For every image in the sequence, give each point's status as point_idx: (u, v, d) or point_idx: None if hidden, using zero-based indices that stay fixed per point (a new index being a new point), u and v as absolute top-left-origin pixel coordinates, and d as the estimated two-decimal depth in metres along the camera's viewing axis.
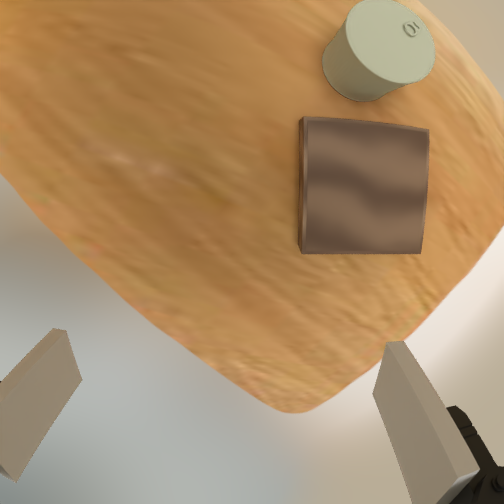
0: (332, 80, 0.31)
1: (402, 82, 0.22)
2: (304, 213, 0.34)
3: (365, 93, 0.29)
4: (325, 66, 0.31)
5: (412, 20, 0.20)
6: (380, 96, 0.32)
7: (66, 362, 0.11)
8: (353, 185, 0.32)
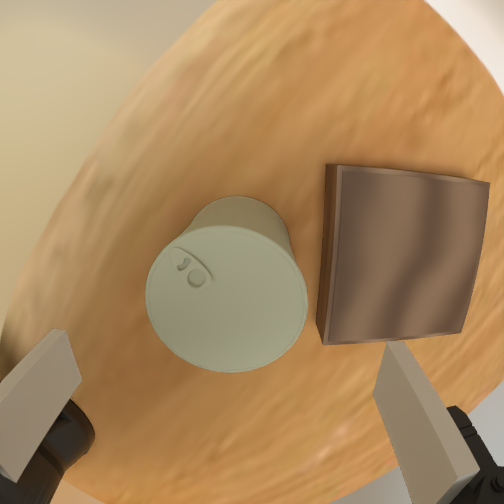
0: None
1: (306, 300, 0.17)
2: (426, 335, 0.26)
3: None
4: None
5: (174, 268, 0.16)
6: (281, 223, 0.26)
7: (66, 362, 0.11)
8: (409, 284, 0.24)
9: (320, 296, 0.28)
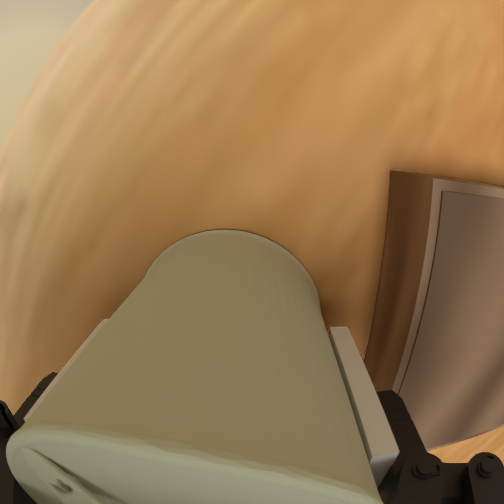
0: None
1: None
2: (498, 426, 0.13)
3: None
4: None
5: (47, 481, 0.04)
6: (309, 281, 0.14)
7: None
8: (500, 373, 0.12)
9: None
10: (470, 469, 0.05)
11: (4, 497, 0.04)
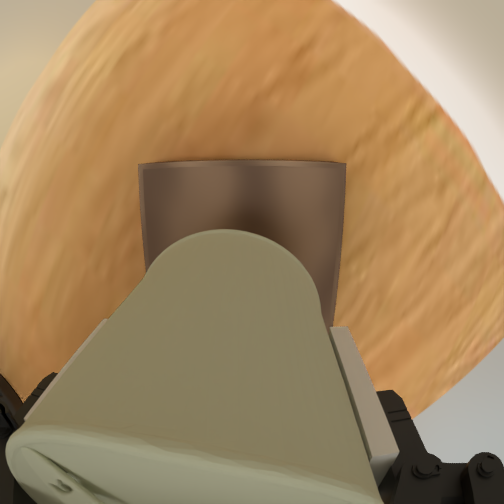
0: None
1: None
2: None
3: None
4: None
5: (47, 481, 0.04)
6: (309, 281, 0.14)
7: None
8: None
9: None
10: (470, 469, 0.05)
11: (5, 498, 0.04)
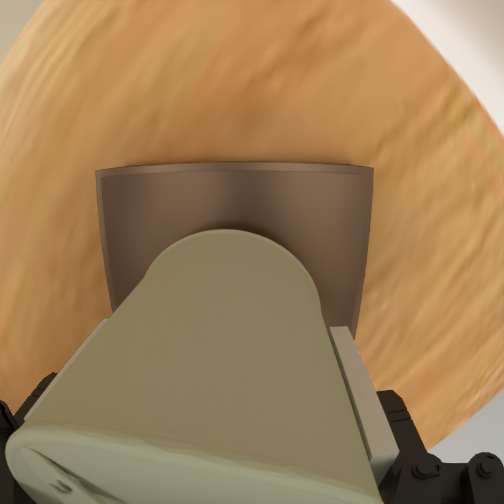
0: None
1: None
2: None
3: None
4: None
5: (47, 481, 0.04)
6: (309, 281, 0.14)
7: None
8: None
9: None
10: (470, 469, 0.05)
11: (5, 498, 0.04)
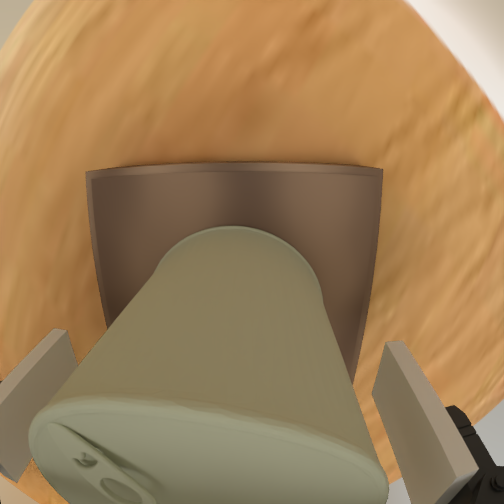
0: None
1: None
2: None
3: None
4: None
5: (70, 457, 0.05)
6: (312, 275, 0.15)
7: (67, 362, 0.11)
8: None
9: None
10: None
11: None
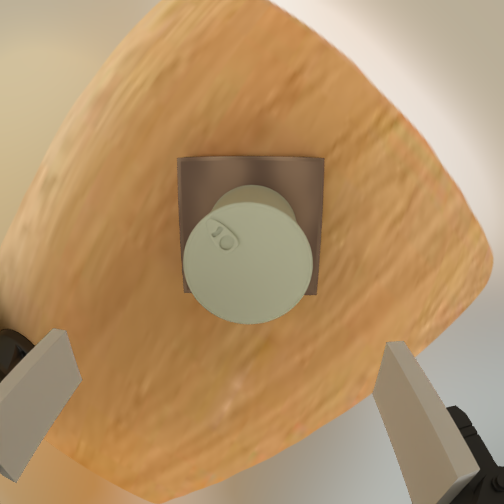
0: None
1: (311, 261, 0.22)
2: None
3: None
4: None
5: (209, 235, 0.21)
6: (290, 207, 0.31)
7: (66, 362, 0.11)
8: None
9: None
10: None
11: None
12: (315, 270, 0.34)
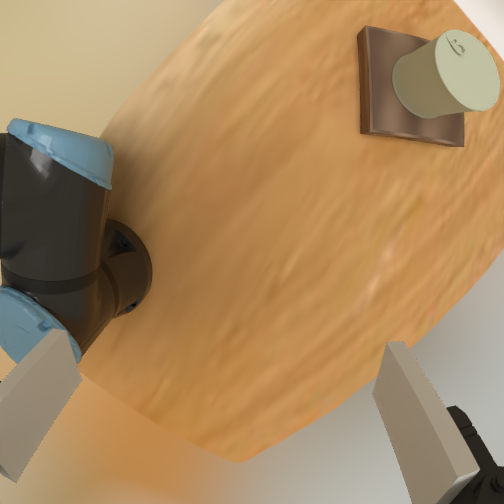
0: None
1: (498, 75, 0.21)
2: (439, 140, 0.35)
3: None
4: (431, 116, 0.33)
5: (449, 42, 0.21)
6: None
7: (66, 362, 0.11)
8: None
9: (362, 109, 0.37)
10: None
11: None
12: (462, 126, 0.34)
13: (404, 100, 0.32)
